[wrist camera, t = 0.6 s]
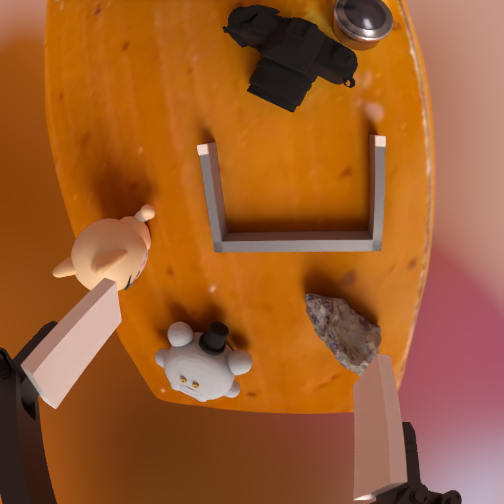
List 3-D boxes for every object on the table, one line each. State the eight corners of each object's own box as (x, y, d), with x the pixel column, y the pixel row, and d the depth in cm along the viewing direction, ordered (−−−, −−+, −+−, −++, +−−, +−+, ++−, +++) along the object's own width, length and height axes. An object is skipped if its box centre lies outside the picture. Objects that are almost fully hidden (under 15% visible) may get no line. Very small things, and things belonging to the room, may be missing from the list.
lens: (327, 8, 23) (329, -13, 17) (376, 11, 21) (388, -8, 16) (334, 50, 25) (339, 35, 20) (385, 53, 24) (400, 40, 18)
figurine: (231, 394, 55) (272, 332, 47) (222, 423, 47) (266, 365, 39) (158, 360, 55) (181, 290, 47) (141, 386, 47) (161, 316, 39)
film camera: (214, 78, 30) (185, 66, 22) (248, 17, 25) (229, -11, 17) (324, 131, 30) (330, 132, 22) (360, 67, 26) (377, 50, 18)
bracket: (206, 143, 33) (197, 145, 30) (378, 134, 29) (385, 136, 26) (221, 243, 39) (213, 253, 36) (376, 241, 35) (381, 252, 32)
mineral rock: (301, 285, 40) (297, 331, 31) (374, 270, 37) (388, 314, 28) (318, 346, 45) (316, 393, 36) (380, 335, 41) (389, 381, 33)
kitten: (113, 264, 46) (60, 312, 32) (94, 211, 42) (31, 249, 28) (183, 257, 42) (133, 318, 29) (165, 194, 38) (99, 235, 25)
